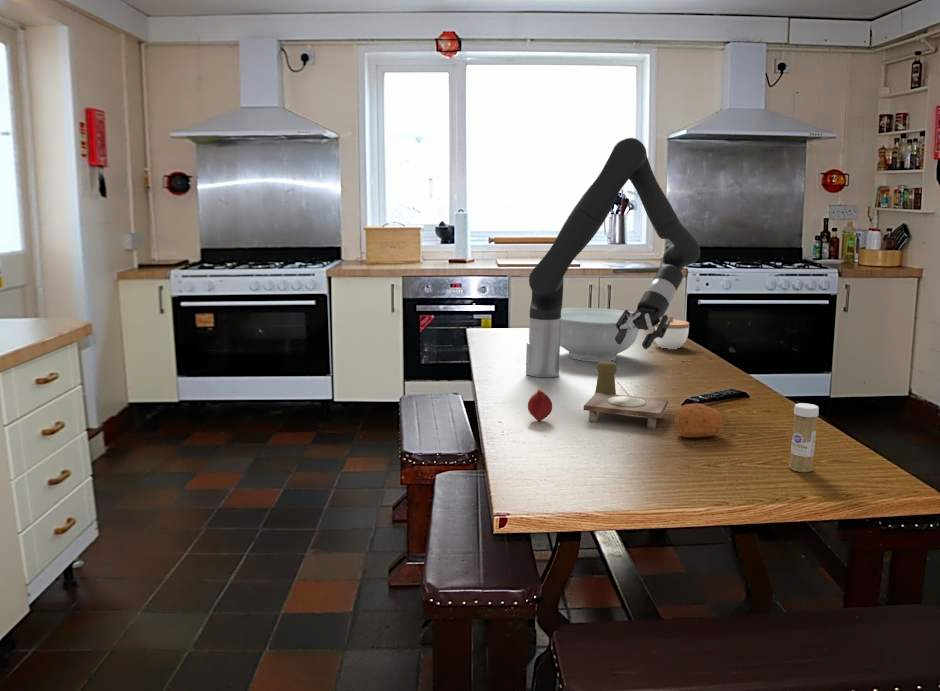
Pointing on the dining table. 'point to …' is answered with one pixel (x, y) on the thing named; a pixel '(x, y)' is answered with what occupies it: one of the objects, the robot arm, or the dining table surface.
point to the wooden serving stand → (626, 406)
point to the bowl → (593, 333)
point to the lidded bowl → (673, 334)
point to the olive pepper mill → (606, 377)
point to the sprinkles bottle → (803, 437)
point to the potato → (698, 421)
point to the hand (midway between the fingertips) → (630, 345)
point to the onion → (540, 405)
